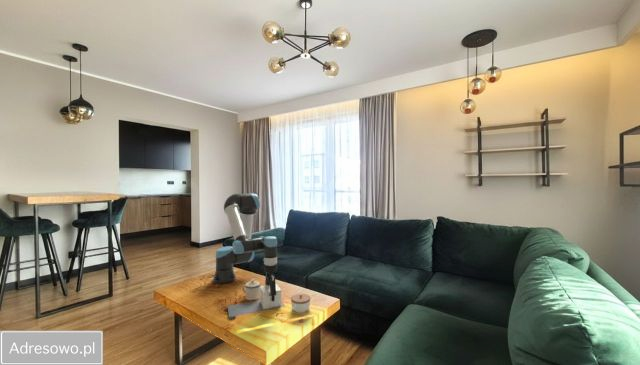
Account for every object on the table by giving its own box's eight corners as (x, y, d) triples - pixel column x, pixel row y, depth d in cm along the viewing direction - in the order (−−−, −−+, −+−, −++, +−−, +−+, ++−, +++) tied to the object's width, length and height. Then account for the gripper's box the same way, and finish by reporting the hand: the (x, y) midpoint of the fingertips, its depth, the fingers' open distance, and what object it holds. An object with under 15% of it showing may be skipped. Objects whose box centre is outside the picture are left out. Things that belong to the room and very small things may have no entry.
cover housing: (260, 301, 155) (260, 286, 155) (276, 298, 159) (276, 283, 158) (263, 309, 145) (263, 293, 145) (281, 305, 149) (281, 290, 149)
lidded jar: (287, 311, 146) (287, 294, 146) (301, 304, 153) (301, 288, 153) (299, 318, 138) (299, 300, 138) (314, 311, 146) (314, 294, 145)
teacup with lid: (263, 296, 163) (263, 278, 163) (254, 303, 155) (254, 283, 155) (247, 293, 168) (247, 275, 168) (237, 299, 159) (237, 280, 159)
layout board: (227, 308, 149) (227, 305, 149) (279, 298, 161) (279, 296, 161) (229, 319, 137) (229, 316, 137) (285, 308, 149) (285, 305, 149)
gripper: (260, 259, 161) (260, 295, 161) (268, 271, 140) (268, 312, 140) (272, 257, 164) (272, 293, 164) (281, 269, 143) (281, 309, 143)
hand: (270, 302), depth 152 cm, fingers closed on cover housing, 10 cm apart
